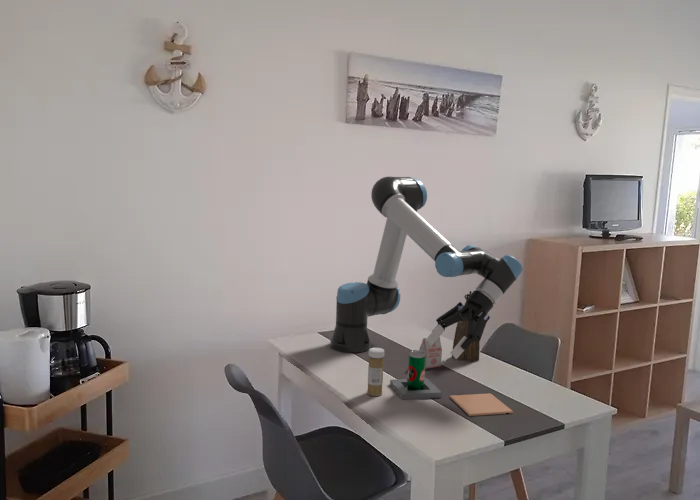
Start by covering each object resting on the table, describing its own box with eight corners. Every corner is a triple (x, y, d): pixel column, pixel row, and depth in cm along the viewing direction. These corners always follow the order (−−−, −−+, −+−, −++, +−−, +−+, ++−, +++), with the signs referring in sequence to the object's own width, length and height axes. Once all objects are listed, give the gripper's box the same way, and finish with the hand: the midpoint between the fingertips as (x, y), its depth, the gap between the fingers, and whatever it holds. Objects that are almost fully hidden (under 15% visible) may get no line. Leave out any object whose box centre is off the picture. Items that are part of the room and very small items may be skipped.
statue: (461, 362, 200) (465, 292, 198) (449, 357, 206) (452, 288, 204) (481, 360, 203) (485, 291, 201) (468, 355, 210) (472, 287, 208)
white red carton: (418, 365, 195) (420, 337, 194) (434, 363, 198) (436, 335, 197) (424, 368, 192) (426, 339, 191) (440, 366, 195) (442, 338, 194)
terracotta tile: (450, 397, 168) (450, 395, 168) (490, 395, 171) (490, 393, 171) (469, 416, 155) (469, 413, 155) (512, 413, 158) (512, 411, 158)
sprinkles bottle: (384, 392, 170) (386, 348, 168) (379, 397, 165) (382, 352, 164) (369, 389, 171) (371, 346, 169) (364, 395, 167) (366, 350, 165)
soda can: (422, 394, 169) (425, 355, 167) (405, 392, 170) (408, 353, 168) (424, 388, 174) (426, 350, 172) (407, 386, 175) (409, 348, 173)
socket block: (389, 384, 176) (390, 379, 176) (426, 382, 179) (426, 377, 179) (402, 399, 165) (402, 394, 165) (441, 397, 168) (441, 392, 167)
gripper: (517, 314, 167) (472, 370, 163) (467, 297, 189) (425, 345, 185) (504, 298, 164) (457, 353, 160) (454, 282, 186) (412, 330, 182)
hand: (440, 349), depth 172 cm, fingers open, 13 cm apart
